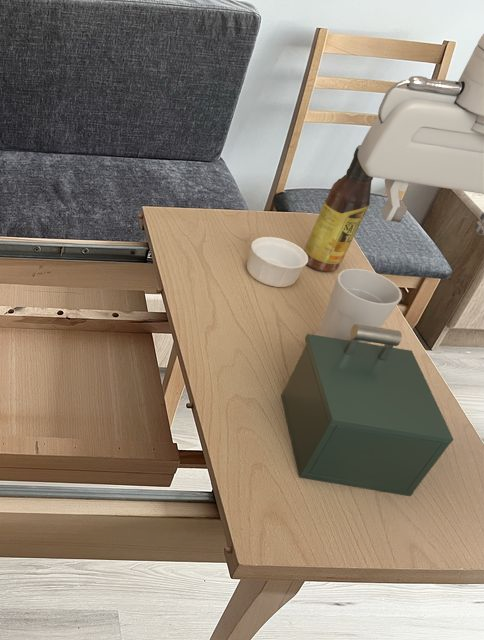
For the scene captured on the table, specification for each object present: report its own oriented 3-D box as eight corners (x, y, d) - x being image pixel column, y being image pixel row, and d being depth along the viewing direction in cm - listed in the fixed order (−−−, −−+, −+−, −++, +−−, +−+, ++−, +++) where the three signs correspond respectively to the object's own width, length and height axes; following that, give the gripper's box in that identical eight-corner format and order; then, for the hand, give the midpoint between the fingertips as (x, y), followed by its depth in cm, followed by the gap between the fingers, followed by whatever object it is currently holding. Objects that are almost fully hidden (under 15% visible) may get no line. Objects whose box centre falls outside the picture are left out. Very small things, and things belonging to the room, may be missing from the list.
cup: (357, 383, 92) (398, 312, 85) (298, 360, 95) (332, 289, 87) (366, 351, 98) (405, 282, 90) (310, 330, 101) (343, 261, 93)
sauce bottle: (329, 278, 112) (383, 164, 99) (293, 261, 115) (341, 148, 102) (344, 264, 116) (398, 152, 103) (310, 248, 119) (358, 137, 106)
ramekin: (276, 255, 116) (285, 233, 113) (310, 286, 110) (320, 263, 107) (232, 262, 113) (240, 239, 110) (264, 293, 107) (274, 270, 104)
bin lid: (304, 338, 84) (319, 307, 81) (408, 355, 84) (428, 324, 81) (329, 424, 73) (347, 391, 70) (449, 444, 73) (473, 412, 69)
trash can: (280, 395, 89) (306, 343, 83) (379, 411, 89) (411, 360, 83) (299, 477, 79) (329, 424, 73) (410, 496, 78) (449, 444, 73)
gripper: (405, 85, 59) (340, 225, 68) (649, 120, 58) (551, 258, 67) (385, 61, 64) (327, 195, 73) (611, 94, 63) (524, 225, 72)
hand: (436, 226), depth 70 cm, fingers open, 8 cm apart
